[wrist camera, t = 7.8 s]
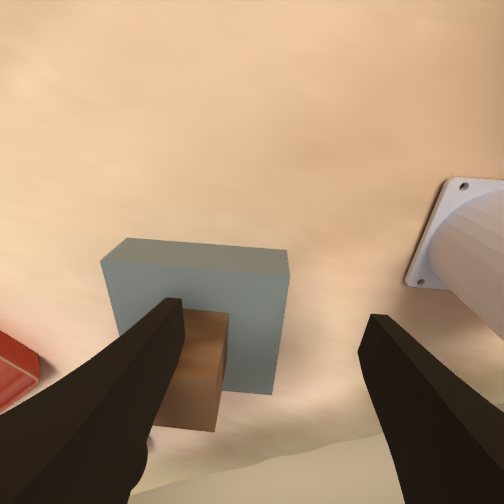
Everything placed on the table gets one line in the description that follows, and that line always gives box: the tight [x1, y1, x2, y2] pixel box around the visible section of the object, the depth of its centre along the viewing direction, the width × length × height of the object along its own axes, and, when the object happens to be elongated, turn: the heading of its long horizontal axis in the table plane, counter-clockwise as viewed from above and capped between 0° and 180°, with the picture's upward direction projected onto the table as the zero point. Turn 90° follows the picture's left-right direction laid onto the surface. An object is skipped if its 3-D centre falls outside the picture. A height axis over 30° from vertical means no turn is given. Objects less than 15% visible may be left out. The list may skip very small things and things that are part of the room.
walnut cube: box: [153, 308, 229, 432], centre depth 17 cm, size 5×5×5 cm
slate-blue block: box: [100, 238, 290, 395], centre depth 21 cm, size 12×12×4 cm
